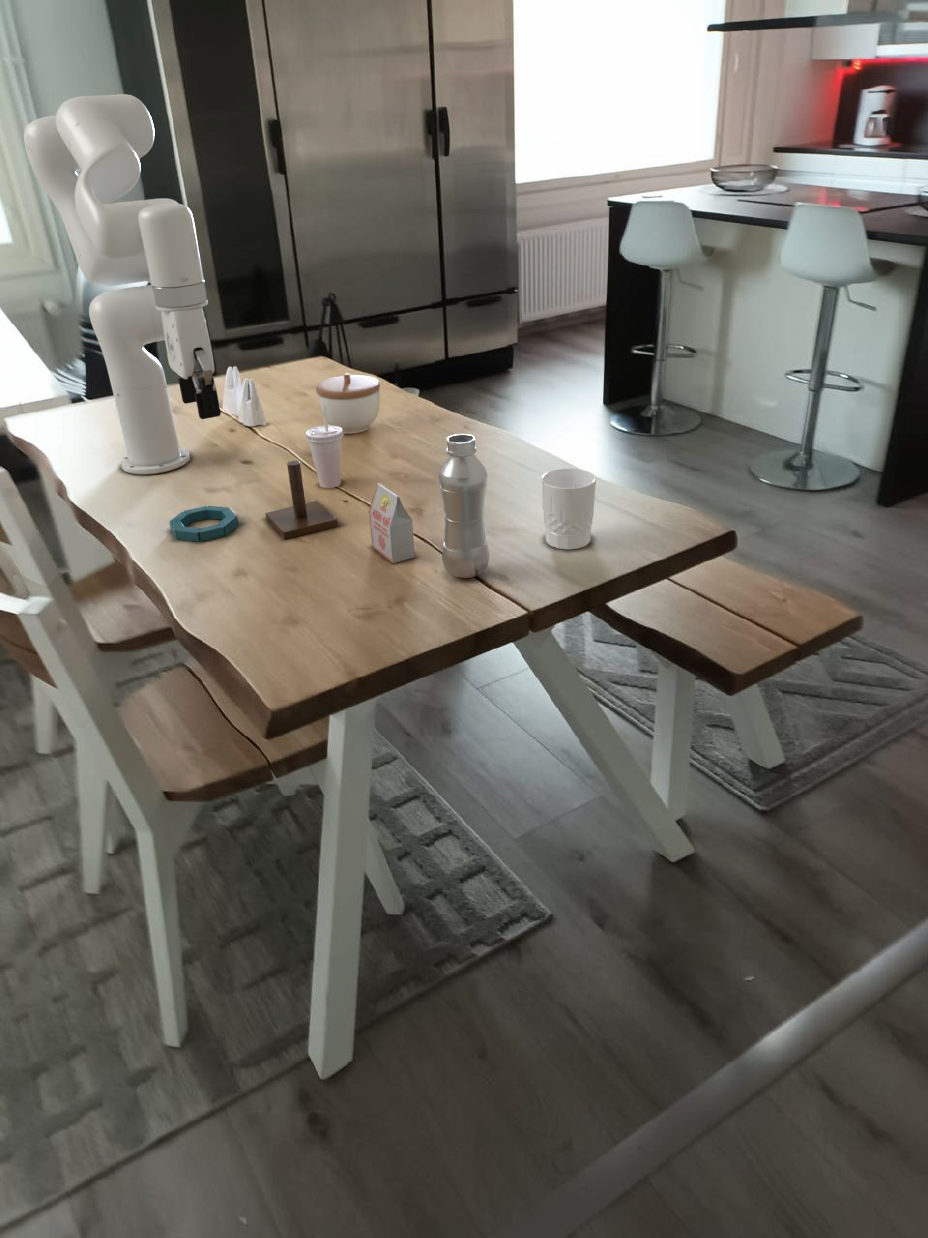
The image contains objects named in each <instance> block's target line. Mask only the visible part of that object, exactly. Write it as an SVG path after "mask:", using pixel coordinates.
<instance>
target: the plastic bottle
mask: <svg viewBox="0 0 928 1238" xmlns="http://www.w3.org/2000/svg"><path fill="white" fill-rule="evenodd" d="M446 453H447V455H448V457H447V458H446V460H445V461H444V462H443V464H442V466H441V468H440V471H439V474H438V485H439V488H440V493H441V498H442V503H443V513H444V539H443V540H444V541H443V546H442V554H441V555H442V556H441V560H442V563H443V568H444V569H445V571H446V572H447V573H448V574H449V575H451V576H453V577H456V578H460V579H461V578H463V579H466V578H473V577H477V576H481V575H482V574H483V573H484V572H485V571H486V570H487V568H488V566H489V563H490V551H489V550H490V549H489V545H488V541H487V537H486V536H487V535H486V526H485V513H484V512H485V500H486V499H485V498H486V491H487V483H488V472H487V469H486V467H485V465H484V464H483V463H482V461H481V460H480V459H479V458H478V457H477V456H476V454H475V453H477V446H476V439H475V436H474V435H472V434H466V433H459V434H453V435H450V436H448V437H446Z"/></svg>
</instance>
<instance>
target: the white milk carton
mask: <svg viewBox="0 0 928 1238" xmlns="http://www.w3.org/2000/svg"><path fill="white" fill-rule="evenodd" d="M368 516H369V527H370V538H371V546H372V549H374V550H376V551H377V552H378V553H379V554H380V555H381V556H383V557H384V558H385V559H387V560H388V561H389V562H390V563H391V564H396V563H399V562H402V561H407V560H409V559H412V558H416V551H415V540H414V527H413V519H412V518H411V516H410V515H409V513H408V511H407V510H406V508H405V507H404V505H403V502H402V501H401V497H400V496H399V495H397V494H396V493H394V492H393V491H391V490H390V489H388V488H387V487H386V486H384V485H383V484H381V483H380V482H378V483H377V482H376V483H375V490H374V494H373V497H372V501H371V504H370V506H369V510H368Z"/></svg>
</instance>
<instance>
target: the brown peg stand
mask: <svg viewBox="0 0 928 1238" xmlns="http://www.w3.org/2000/svg"><path fill="white" fill-rule="evenodd" d="M286 467H287V472H288V481H289V487H290V494H291V501H292V506H289V507H288V506H287V507H284V508H279V509H276V510H272V511H267V512H265V519H266V521H267V522H268V523H269V524H270V525H271V526H272V528H273V529H275V531H276V532H277V533H278V534H279V535H280V536H281V537H282V538H283V539H284V540H288V539H291V538H295V537H299V536H303V535H307V534H312V533H315V532H319V531H324V530H328V529H331V528H336V527H339V524H338V523H339V522H338V518H337V517H335V516H334V514H332V513H331V512H330V511H329V510H328V509H327V508H326V507H324V506H323V504H322V503H320V502H319V501H318V500H314V501H309V502H306V496H305V489H304V482H303V473H302V468H301V462H300V461H298V460H291V461H287V463H286Z"/></svg>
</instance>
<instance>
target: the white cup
mask: <svg viewBox="0 0 928 1238" xmlns="http://www.w3.org/2000/svg"><path fill="white" fill-rule="evenodd" d="M596 485H597V476H596V475H595V474H594V473H592V472H590V471H588V470H585V469H579V468H559V469H553V470H550V471H548V472H546V473H544V474H543V475H542V477H541V492H542V510H543V523H544V529H545V530H544V531H545V542H546V543H547V544H548V545H549V546H550V547H553V548H556V549H559V550H577V549H581V548H584V547H586V546H587V545H588V544H590V543H591V536H592V535H591V534H592V527H593V519H594V513H595V512H594V510H595V497H596Z"/></svg>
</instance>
